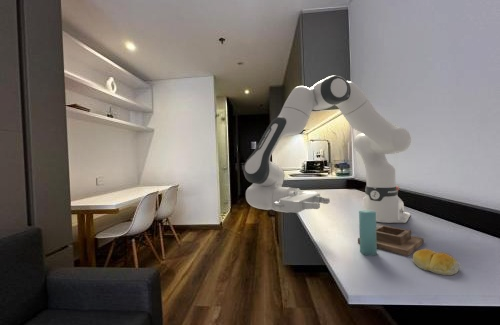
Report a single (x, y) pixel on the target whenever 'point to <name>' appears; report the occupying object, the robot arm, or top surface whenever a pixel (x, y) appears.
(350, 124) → the robot arm
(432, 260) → the bread roll
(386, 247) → the walnut base
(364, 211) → the teal post
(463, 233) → the top surface
